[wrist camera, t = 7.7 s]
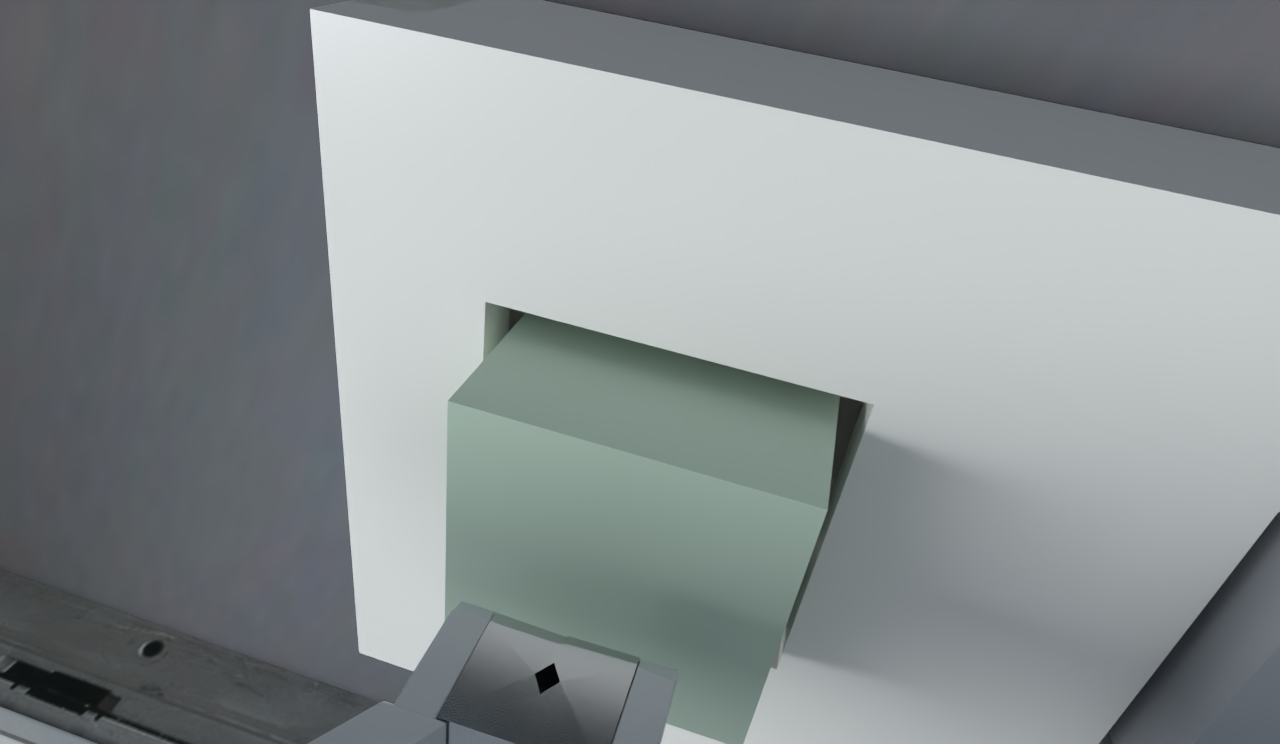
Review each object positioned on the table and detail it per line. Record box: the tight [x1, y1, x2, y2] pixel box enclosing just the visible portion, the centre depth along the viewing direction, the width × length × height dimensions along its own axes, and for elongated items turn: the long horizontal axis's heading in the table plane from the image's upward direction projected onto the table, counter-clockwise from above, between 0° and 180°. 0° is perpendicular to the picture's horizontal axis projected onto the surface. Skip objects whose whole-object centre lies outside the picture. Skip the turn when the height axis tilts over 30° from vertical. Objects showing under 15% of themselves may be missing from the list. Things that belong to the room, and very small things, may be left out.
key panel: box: [310, 0, 1280, 744], centre depth 14 cm, size 22×13×4 cm, turn 82°
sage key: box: [445, 313, 840, 744], centre depth 13 cm, size 5×5×3 cm
